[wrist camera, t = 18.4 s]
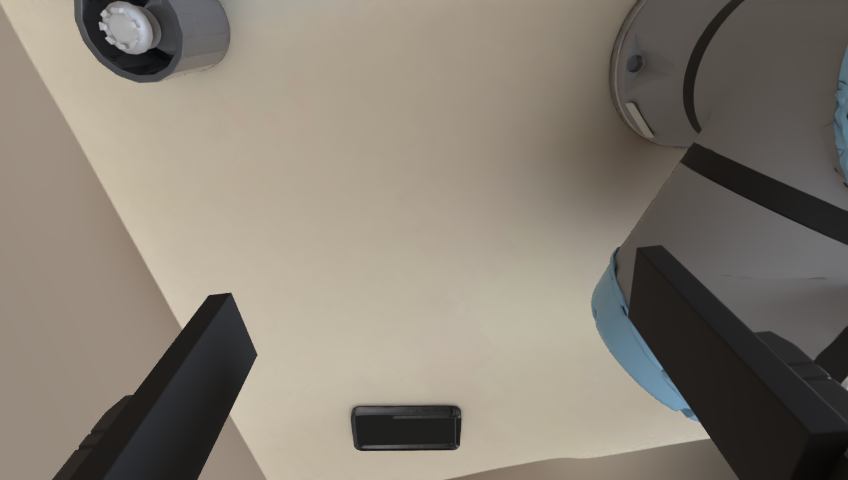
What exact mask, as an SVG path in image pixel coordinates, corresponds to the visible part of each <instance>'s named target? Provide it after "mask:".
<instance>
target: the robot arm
mask: <svg viewBox="0 0 848 480" xmlns="http://www.w3.org/2000/svg"><path fill="white" fill-rule="evenodd" d="M610 90H611V95H612V99H613V102H614V105H615V107H616V110H617V112H618V113H619V115H620V117H621V118H622V119H623V121H624V122H625V123H626V124H627V125H628V126H629V128H631V129H632V130H633V131H634V132H636V133H637V134H639V135H640V136H642V137H644V138H646V139H648V140H650V141H652V142H654V143H656V144H659V145H663V146H667V147H673V148H682V149H688V151H687V152H686V154H685V155H684V157H683V158H682V160H681V161H680V162H679V164H678V165H677V166H676V168H675V169H674V171H673V172H672V174H671V175H670V177H669V178H668V179H667V181H666V182H665V184H664V185H663V187H662V188H661V190H660V191H659V192H658V194H657V195H656V197H655V198H654V200H653V201H652V203H651V204H650V205H649V207H648V208H647V210H646V211H645V213H644V214H643V216H642V217H641V218H640V220H639V221H638V223H637V224H636V226H635V227H634V229H633V230H632V231H631V233H630V234H629V236H628V237H627V239H626V240H625V242H624V243H623V244H622V246H621V247H618V248H617V249H616V250H615V251H614V252H613V254H612V256H611V260H610V264H609V266H608V267H607V269H606V271H605V272H604V274H603V276H602V277H601V279H600V280H599V282H598V284H597V285H596V287H595V289H594V292H593V295H592V301H591V307H592V312H593V317H594V319H595V321H596V327H597V329H598V332H599V334H600V336H601V338H602V340H603V341H604V343H605V345H606V346H607V348H608V349H609V351H610V352H611V353H612V355H613V356H614V357H615V359H616V360H617V361H618V363H619V364H620V365H621V366H622V367H623V368H624V369H625V371H626V372H627V373H628V374H629V375H630V376H631V377H632V378H633V379H634V380H635V381H636V382H637V383H638V384H639V385H640V386H641V387H642V388H644V389H645V390H646V391H647V392H648V393H649V394H651V395H652V396H653V397H654V398H656V399H657V400H658V401H660V402H661V403H663V404H664V405H666V406H667V407H669V408H670V409H672V410H674V411H678V410H681V411H682V412H683V414H684V415H685V416H686V417H687V418H690V419H692V420H695V421H698V422H700V423H701V424H702V426H703V427H704V429H705V430H706V432H707V433H708V435H709V436H710V438H711V439H712V441H713V442H714V443H715V445H716V446H717V448H718V449H719V451H720V452H721V454H722V455H723V457H724V458H725V459H726V461H727V462H728V464H729V465H730V467H731V468H732V470H733V471H734V473H735V474H736V475H737V477H738V478H739V480H848V0H639V1H638V2H637V4H636V5H635V6H634V8H633V9H632V11H631V12H630V14H629V15H628V17H627V19H626V20H625V22H624V24H623V26H622V28H621V30H620V32H619V35H618V37H617V40H616V42H615V46H614V49H613V53H612V58H611V63H610ZM256 357H257V353H256V350H255V348H254V346H253V343H252V341H251V339H250V336H249V334H248V331H247V329H246V327H245V324H244V322H243V319H242V317H241V315H240V312H239V310H238V308H237V305H236V303H235V300H234V298H233V296H232V293H224V294H215V295H209V296H208V297H207V298H206V300H205V301H204V302H203V304H202V305H201V306H200V308H199V309H198V310H197V312H196V313H195V314H194V316H193V317H192V318H191V319H190V321H189V322H188V323H187V325H186V326H185V327H184V329H183V330H182V331H181V333H180V334H179V335H178V337H177V338H176V339H175V341H174V342H173V343H172V345H171V346H170V347H169V348H168V350H167V351H166V352H165V354H164V355H163V357H162V358H161V359H160V360H159V362H158V363H157V364H156V366H155V367H154V368H153V370H152V371H151V372H150V374H149V375H148V376H147V378H146V379H145V380H144V381H143V383H142V384H141V385H140V387H139V388H138V389H137V391H136V392H135V393H134V395H128V396H125V397H123V398H122V399H121V400H120V401H119V402H117V403H116V404H115V405H114V406H113V407H112V408H110V409H109V410H108V411H107V412H106V413H105V414H104V415H103V416H102V418H101V419H100V420H99V422H98V423H97V424H96V425H95V426H94V428H93V429H92V430H91V434H89V435H87V436H86V438H85V439H84V440H83V441H82V443H81V444H80V445H79V449H78V450H75V451H74V453H73V454H72V455H71V457H70V458H69V459H68V460H67V462H66V463H65V464H64V465H63V467H62V468H61V469H60V471H59V472H58V473H57V474H56V475H55V477H54V478H53V479H52V480H197V479H198V477H199V475H200V473H201V471H202V469H203V466H204V465H205V463H206V461H207V459H208V456H209V454H210V452H211V450H212V448H213V446H214V444H215V442H216V440H217V438H218V436H219V433H220V432H221V430H222V427H223V425H224V423H225V421H226V419H227V417H228V415H229V413H230V411H231V409H232V407H233V405H234V403H235V400H236V398H237V396H238V394H239V392H240V390H241V388H242V386H243V384H244V382H245V380H246V378H247V376H248V374H249V371H250V369H251V367H252V365H253V363H254V361H255V359H256Z"/></svg>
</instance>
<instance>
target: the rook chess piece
mask: <svg viewBox="0 0 848 480" xmlns="http://www.w3.org/2000/svg"><path fill="white" fill-rule="evenodd" d="M100 15H101V16H102V17H103V18H102V21H103V22H99V27H100V30H105V32H106V34H107V37H106V38H105V39H106V40H107V41H108V42H109V43H110V44H111V45H112V44H114V45H115V46H116V47H117V48H119V49H121V50H122V51H124V52H126V53H129V54H140V53H144V52H146V51H147V49H151V48H155V47H157V48H158V49H160V50H162V51H164V52H166V53H168V54H171V55H175V53H176V41H177V34H176V31H175V27H174V24H173V20H172V17H171V15H170V13H169V12H168V10H167V9H166V7H165V6H164V4H163V3H162V1H161V0H150V1H149V2H148V3H147V4H146V5H145V6H144V8H143V7H141V6H134V5H132V4H130V3H128V2H122V1H116V2H113V3H110V4H109V5H108V6H107V7H106V9H104V10H103V12H102V13H101V14H100Z"/></svg>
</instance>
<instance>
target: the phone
mask: <svg viewBox="0 0 848 480" xmlns="http://www.w3.org/2000/svg"><path fill="white" fill-rule="evenodd" d="M351 424H352V433H353V441H354V447H355V448H356V449H357V450H360V451H417V450H455V449H457V448H458V447H459V446H460V433H461V411H460V409H459V408H457V407H453V406H444V407H357V408H355V409H353V411H352V416H351Z"/></svg>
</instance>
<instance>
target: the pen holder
mask: <svg viewBox="0 0 848 480" xmlns="http://www.w3.org/2000/svg"><path fill="white" fill-rule="evenodd" d="M116 1H122V2H128V3H130V4H132V5H134V6H141V7H143V8H144V6H145V5H146V4H147V3H148V2H149V1H150V0H74V7H75V21H76V23H77V26H78V28H79V31H80V34H81V36H82V39H83V41H84V43H85V44H86V45H87V47H88V48H89V49H90V51H91V52H92V53H93V54H94V56H95V57H96V58H97V60H98V61H99V62H100V63H102V64H103V65H104V66H106V67H107V68H108V69H110V70H111V71H112V72H114V73H115V74H117V75H118V76H121V77H123V78H126V79H129V80H132V81H135V82H139V83H146V82H159V81H163V80H167V79H171V78H175V77H179V76H183V75H187V74H191V73H195V72H199V71H203V70H206V69H208V68H210V67H213V66H214V65H216V64H217V63H219V62H220V61H221V60H222V58H223V57H224V56H225V54H226V52H227V49H228V46H229V42H230V29H229V23H228V20H227V17H226V14H225V12H224V10H223V8H222V6H221V5H220V3H219V2H218V0H161V1H162V3H163V4H164V6H165V7H166V9H167V10H168V12H169V13H170V15H171V17H172V20H173V24H174V27H175V31H176V34H177V41H176V53H175V55H171V54H168V53H166V52H164V51H162V50H160V49H158V48H157V47H155V48H151V49H147V51H146V52H144V53H140V54H129V53H126V52H124V51H122V50H121V49H119V48H117V47H116V46H115V45H114V44H112V45H111V44H110V43H109V42H108V41H107V40H106V39H105V38H106V37H107V34H106V32H105V30H100V27H99V22H103V21H102V18H103V17H102V16H101V15H100V14H101V13H102V12H103V10H104V9H106V7H107V6H108V5H109V4H110V3H113V2H116Z"/></svg>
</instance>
